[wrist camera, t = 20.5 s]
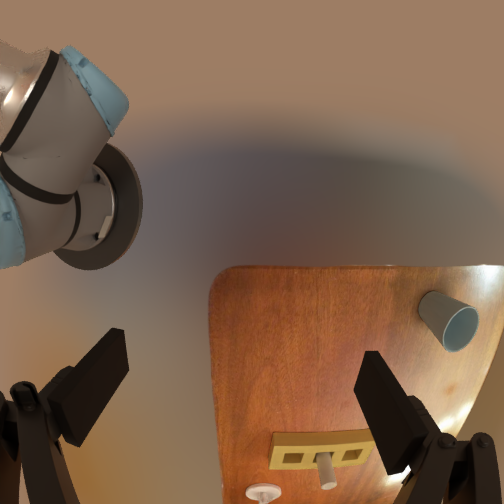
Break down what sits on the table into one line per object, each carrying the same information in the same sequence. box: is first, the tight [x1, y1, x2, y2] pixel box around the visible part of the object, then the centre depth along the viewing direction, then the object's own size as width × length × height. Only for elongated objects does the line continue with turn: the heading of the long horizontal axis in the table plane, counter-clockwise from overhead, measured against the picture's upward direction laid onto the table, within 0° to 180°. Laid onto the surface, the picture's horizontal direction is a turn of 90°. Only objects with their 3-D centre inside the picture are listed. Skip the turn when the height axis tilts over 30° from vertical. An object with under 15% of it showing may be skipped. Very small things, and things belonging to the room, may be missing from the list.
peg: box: [316, 452, 337, 490], centre depth 45 cm, size 3×3×12 cm
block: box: [268, 429, 375, 469], centre depth 49 cm, size 9×22×4 cm, turn 85°
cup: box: [418, 291, 479, 352], centre depth 39 cm, size 8×8×10 cm
